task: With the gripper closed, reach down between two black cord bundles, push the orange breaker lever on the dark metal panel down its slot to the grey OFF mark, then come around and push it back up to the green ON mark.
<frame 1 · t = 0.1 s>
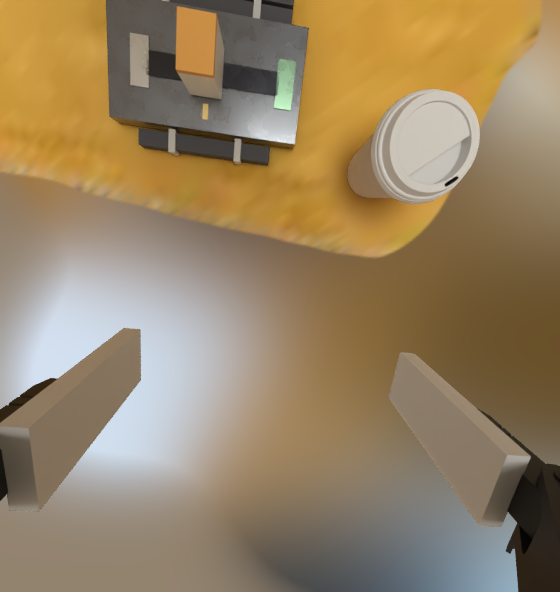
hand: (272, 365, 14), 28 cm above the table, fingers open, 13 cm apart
breaker lever: (201, 58, 29), point 6 cm above the table, slide at 5.0 cm
coffee cup: (369, 173, 39), on the table
cord bundle 1: (215, 4, 33), on the table
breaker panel: (211, 83, 35), on the table
cord bundle 2: (208, 149, 36), on the table
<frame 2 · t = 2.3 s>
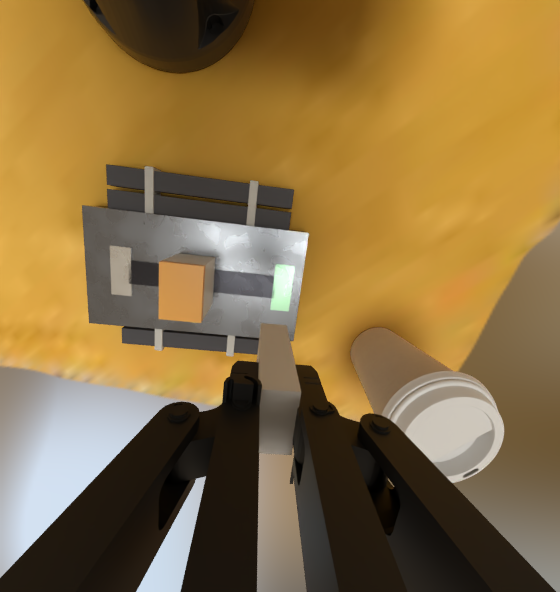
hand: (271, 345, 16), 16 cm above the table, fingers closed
breaker lever: (189, 285, 26), point 6 cm above the table, slide at 5.0 cm
coffee cup: (374, 350, 35), on the table
cord bundle 1: (205, 200, 29), on the table
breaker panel: (201, 274, 31), on the table
cord bundle 2: (198, 335, 33), on the table
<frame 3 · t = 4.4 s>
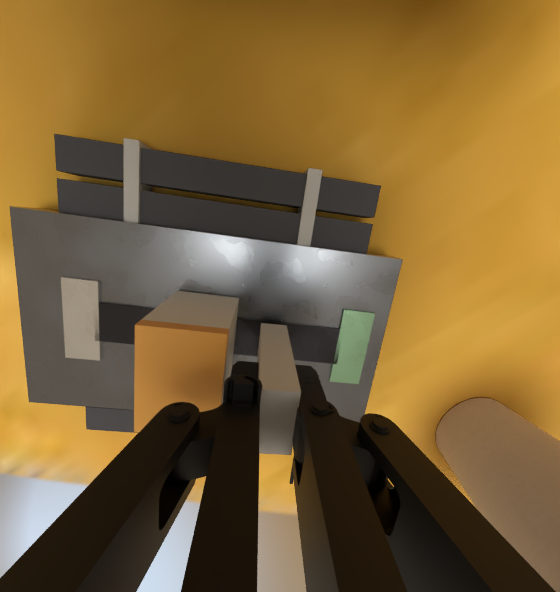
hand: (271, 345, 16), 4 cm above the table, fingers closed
breaker lever: (194, 354, 14), point 6 cm above the table, slide at 4.7 cm, touching gripper
coffee cup: (470, 429, 24), on the table
cord bundle 1: (227, 201, 18), on the table
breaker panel: (217, 319, 20), on the table
cord bundle 2: (209, 410, 22), on the table
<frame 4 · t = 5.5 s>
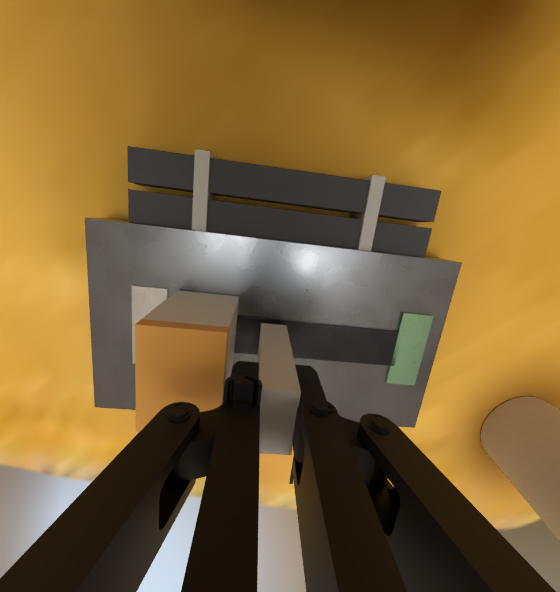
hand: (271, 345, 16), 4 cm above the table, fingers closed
breaker lever: (195, 353, 14), point 6 cm above the table, slide at 0.9 cm, touching gripper
coffee cup: (514, 427, 24), on the table
cord bundle 1: (285, 207, 18), on the table
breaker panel: (271, 323, 20), on the table
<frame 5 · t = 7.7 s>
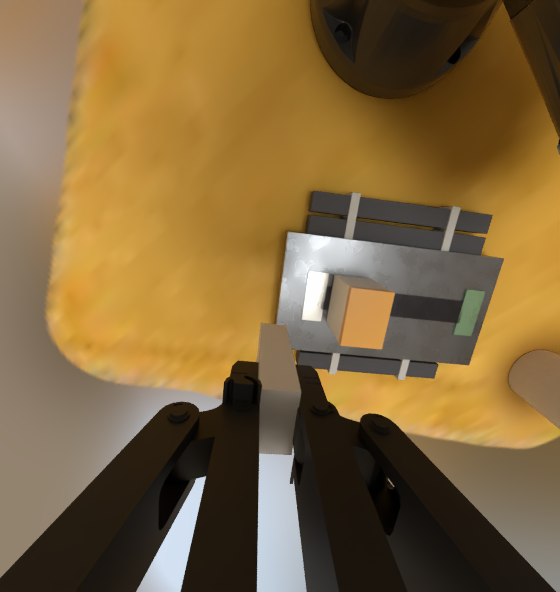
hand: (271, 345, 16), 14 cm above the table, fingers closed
breaker lever: (356, 309, 26), point 5 cm above the table, slide at 0.9 cm
coffee cup: (532, 372, 35), on the table
cord bundle 1: (392, 224, 29), on the table
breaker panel: (376, 297, 31), on the table
cord bundle 2: (363, 358, 33), on the table
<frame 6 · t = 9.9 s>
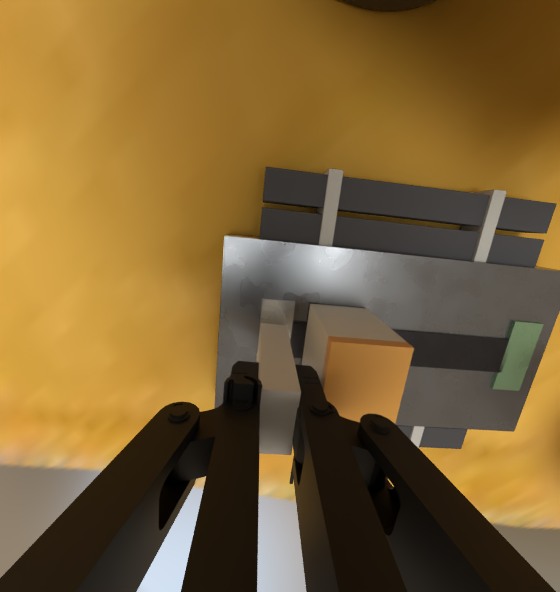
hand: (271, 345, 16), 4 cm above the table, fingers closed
breaker lever: (344, 365, 15), point 5 cm above the table, slide at 1.2 cm, touching gripper
cord bundle 1: (396, 220, 19), on the table
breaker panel: (373, 331, 21), on the table
cord bundle 2: (356, 417, 23), on the table
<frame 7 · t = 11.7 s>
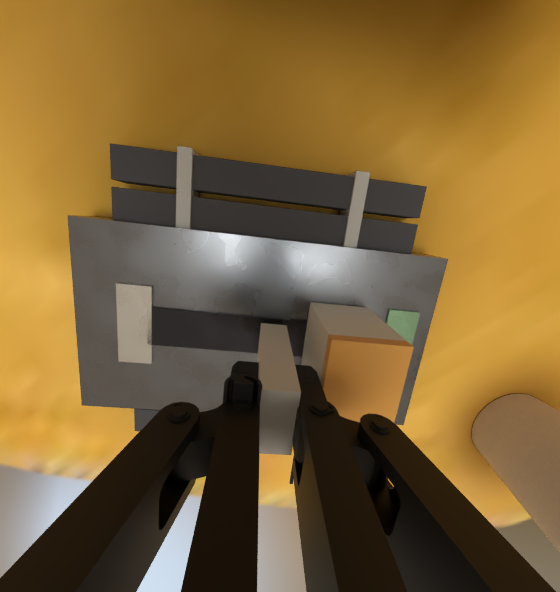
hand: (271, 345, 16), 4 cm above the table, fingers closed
breaker lever: (344, 363, 15), point 5 cm above the table, slide at 9.7 cm, touching gripper
coffee cup: (506, 424, 24), on the table
cord bundle 1: (271, 204, 18), on the table
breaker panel: (259, 320, 20), on the table
cord bundle 2: (250, 410, 22), on the table
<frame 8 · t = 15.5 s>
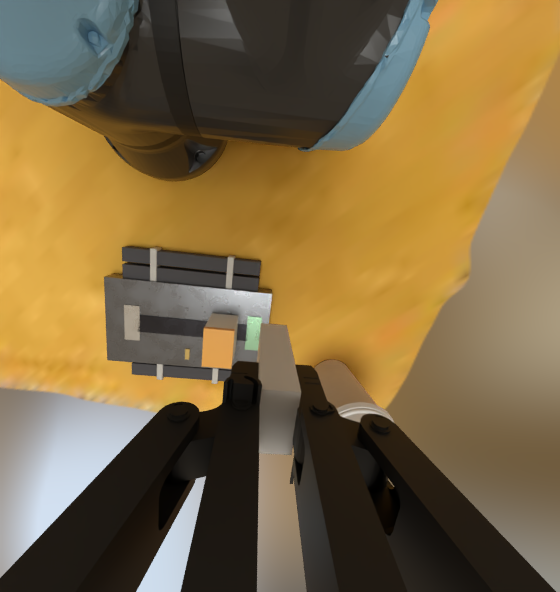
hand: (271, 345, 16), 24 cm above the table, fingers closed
breaker lever: (221, 339, 36), point 6 cm above the table, slide at 9.9 cm
coffee cup: (329, 377, 45), on the table
cord bundle 1: (195, 267, 39), on the table
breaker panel: (193, 321, 41), on the table
cord bundle 2: (191, 366, 43), on the table
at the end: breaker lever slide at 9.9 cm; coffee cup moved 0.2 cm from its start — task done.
